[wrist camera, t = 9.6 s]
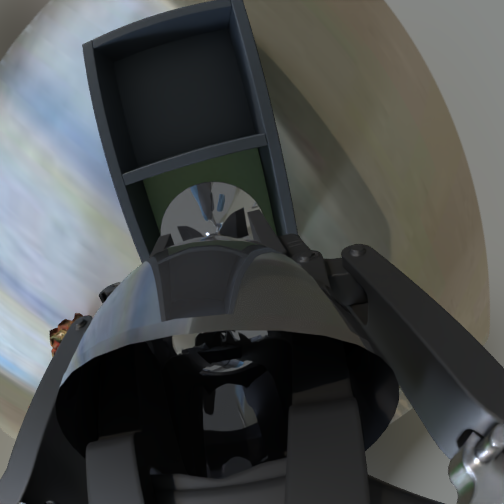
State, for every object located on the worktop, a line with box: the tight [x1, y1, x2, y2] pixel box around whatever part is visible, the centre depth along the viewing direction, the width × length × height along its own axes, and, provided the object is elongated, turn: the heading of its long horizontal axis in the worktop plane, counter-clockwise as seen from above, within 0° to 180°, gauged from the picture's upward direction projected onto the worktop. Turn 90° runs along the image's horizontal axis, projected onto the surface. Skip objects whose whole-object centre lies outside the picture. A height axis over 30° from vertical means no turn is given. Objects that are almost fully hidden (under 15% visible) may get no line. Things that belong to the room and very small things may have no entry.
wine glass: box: [55, 181, 399, 479], centre depth 12 cm, size 8×8×15 cm
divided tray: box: [82, 0, 298, 263], centre depth 19 cm, size 11×21×5 cm, turn 13°
